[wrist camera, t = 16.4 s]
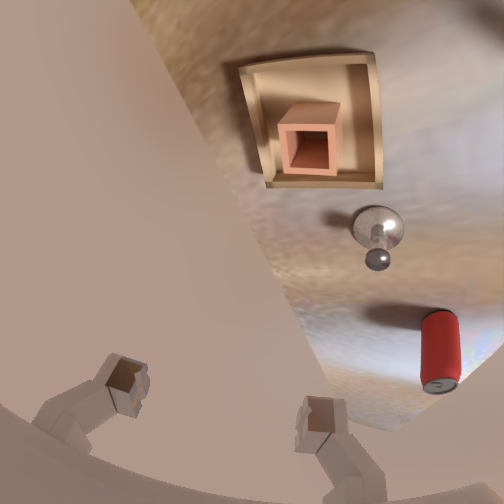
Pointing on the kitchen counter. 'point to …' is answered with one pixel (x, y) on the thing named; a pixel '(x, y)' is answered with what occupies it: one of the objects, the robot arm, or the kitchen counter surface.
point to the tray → (318, 91)
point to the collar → (311, 150)
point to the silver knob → (378, 234)
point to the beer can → (440, 353)
